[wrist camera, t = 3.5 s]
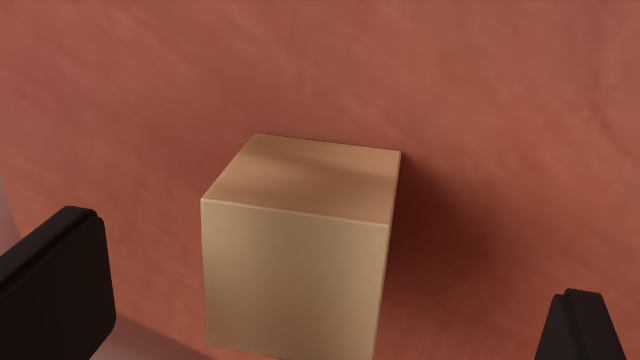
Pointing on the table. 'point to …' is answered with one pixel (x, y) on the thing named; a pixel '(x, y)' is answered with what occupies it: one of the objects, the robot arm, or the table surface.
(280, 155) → the block
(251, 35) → the table surface
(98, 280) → the robot arm
